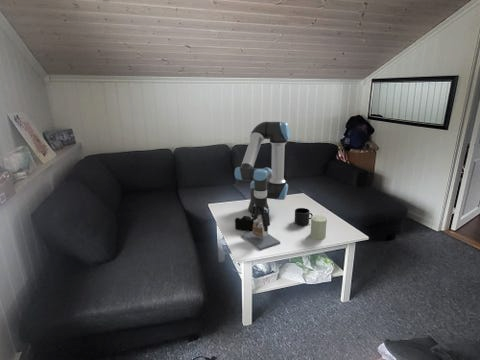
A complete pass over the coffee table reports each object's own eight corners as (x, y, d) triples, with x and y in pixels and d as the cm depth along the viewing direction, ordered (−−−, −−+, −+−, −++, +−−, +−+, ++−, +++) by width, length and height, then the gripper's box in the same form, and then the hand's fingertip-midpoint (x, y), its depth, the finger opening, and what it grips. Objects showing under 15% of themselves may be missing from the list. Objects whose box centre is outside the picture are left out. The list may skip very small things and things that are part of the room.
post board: (241, 235, 180) (241, 219, 177) (260, 230, 187) (260, 214, 184) (260, 250, 164) (260, 232, 161) (280, 243, 170) (280, 226, 167)
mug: (314, 225, 192) (315, 212, 189) (297, 226, 191) (297, 213, 188) (309, 219, 201) (310, 207, 198) (292, 220, 200) (293, 208, 197)
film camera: (260, 226, 193) (260, 213, 190) (256, 232, 184) (256, 219, 181) (238, 223, 197) (237, 211, 195) (233, 229, 189) (232, 216, 186)
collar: (250, 231, 175) (250, 224, 174) (262, 228, 179) (262, 221, 178) (258, 237, 168) (258, 229, 167) (270, 233, 172) (270, 226, 171)
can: (308, 232, 183) (309, 214, 179) (322, 231, 183) (323, 214, 180) (312, 239, 174) (314, 221, 170) (328, 239, 174) (329, 220, 171)
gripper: (244, 192, 174) (245, 227, 181) (266, 203, 157) (265, 241, 163) (255, 190, 178) (255, 224, 184) (277, 200, 160) (276, 238, 167)
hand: (260, 232), depth 174 cm, fingers closed on collar, 8 cm apart
